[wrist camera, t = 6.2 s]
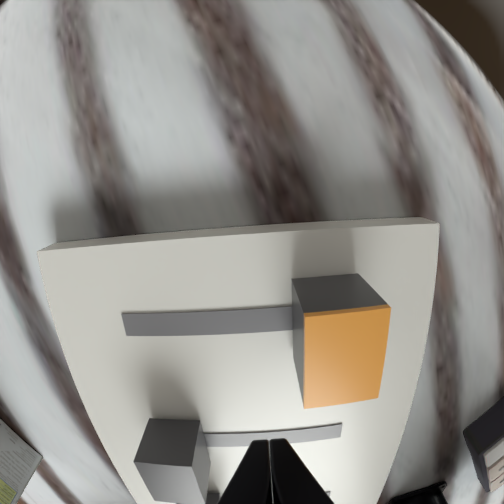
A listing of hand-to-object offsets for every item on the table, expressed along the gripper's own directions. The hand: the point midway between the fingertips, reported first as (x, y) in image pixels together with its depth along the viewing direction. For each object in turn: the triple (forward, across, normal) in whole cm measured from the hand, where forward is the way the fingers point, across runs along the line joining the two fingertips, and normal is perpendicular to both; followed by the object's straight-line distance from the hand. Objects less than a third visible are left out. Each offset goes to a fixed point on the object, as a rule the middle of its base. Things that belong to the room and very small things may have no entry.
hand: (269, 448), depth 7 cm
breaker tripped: (+8, -3, 0) cm, 8 cm away
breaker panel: (+10, +1, +8) cm, 13 cm away
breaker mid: (+7, +5, +8) cm, 12 cm away
